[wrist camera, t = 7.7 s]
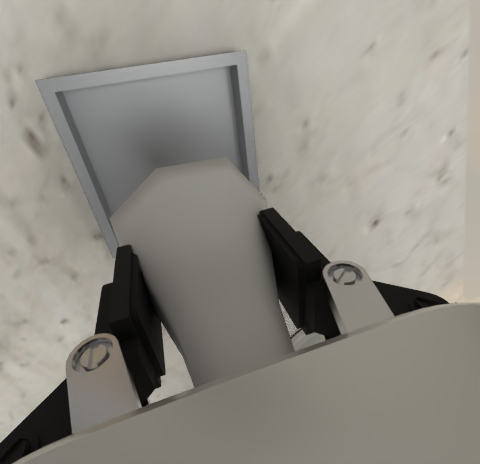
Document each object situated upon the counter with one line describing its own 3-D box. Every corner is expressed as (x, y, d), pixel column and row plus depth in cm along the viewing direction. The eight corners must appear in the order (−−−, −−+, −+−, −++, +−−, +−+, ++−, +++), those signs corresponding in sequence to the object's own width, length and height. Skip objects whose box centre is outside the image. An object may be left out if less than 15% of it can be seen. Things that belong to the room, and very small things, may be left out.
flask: (285, 250, 16) (446, 450, 8) (168, 313, 16) (202, 594, 7) (234, 125, 12) (458, 264, 4) (75, 208, 12) (-81, 566, 3)
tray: (253, 208, 30) (261, 219, 28) (115, 243, 28) (113, 258, 26) (236, 51, 23) (246, 50, 21) (45, 78, 20) (34, 80, 18)
